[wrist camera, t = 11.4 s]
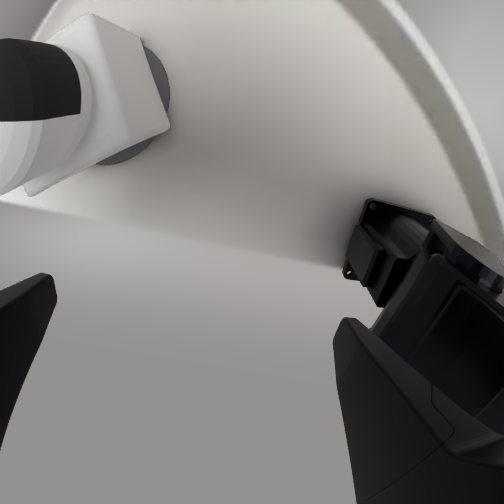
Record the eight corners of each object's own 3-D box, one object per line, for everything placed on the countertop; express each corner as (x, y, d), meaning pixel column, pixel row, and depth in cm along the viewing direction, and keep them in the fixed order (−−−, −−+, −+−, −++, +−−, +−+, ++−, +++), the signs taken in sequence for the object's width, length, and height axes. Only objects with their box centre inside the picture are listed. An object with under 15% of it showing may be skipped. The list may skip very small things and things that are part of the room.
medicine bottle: (55, 83, 16) (-76, 98, 5) (140, 34, 15) (24, -18, 4) (85, 168, 19) (-34, 241, 8) (173, 128, 18) (73, 166, 7)
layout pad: (180, 39, 15) (179, 38, 15) (160, 169, 19) (159, 170, 19) (65, 45, 15) (62, 44, 14) (53, 160, 19) (51, 161, 18)
